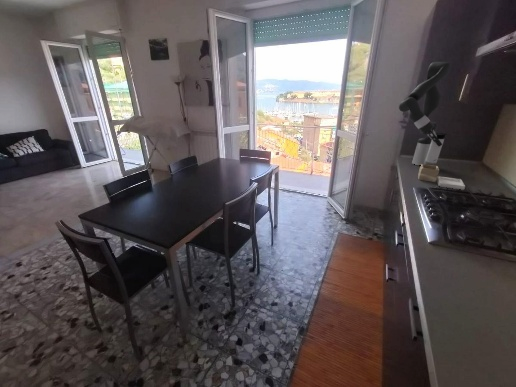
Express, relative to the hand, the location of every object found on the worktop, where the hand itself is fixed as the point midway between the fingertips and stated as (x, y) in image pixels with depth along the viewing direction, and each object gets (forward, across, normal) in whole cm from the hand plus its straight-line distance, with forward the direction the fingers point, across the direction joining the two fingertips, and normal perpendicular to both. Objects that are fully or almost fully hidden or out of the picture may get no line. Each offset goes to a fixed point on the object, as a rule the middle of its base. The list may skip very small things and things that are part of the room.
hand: (440, 144), depth 150 cm
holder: (+16, 0, +18) cm, 24 cm away
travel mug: (+8, 0, +10) cm, 13 cm away
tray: (+24, -7, +9) cm, 27 cm away
